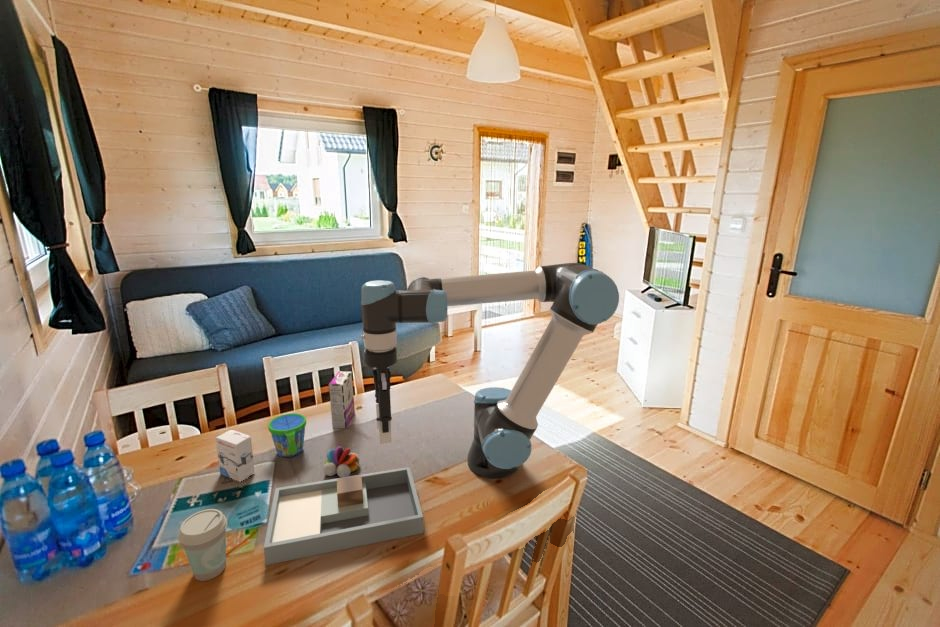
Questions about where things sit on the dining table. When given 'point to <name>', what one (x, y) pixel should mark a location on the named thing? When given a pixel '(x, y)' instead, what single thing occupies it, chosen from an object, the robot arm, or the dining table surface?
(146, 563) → the dining table surface
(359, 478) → the walnut block
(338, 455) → the rainbow wheeled toy
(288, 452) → the snack cup
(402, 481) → the box
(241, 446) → the ink box
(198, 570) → the coffee cup
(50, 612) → the dining table surface
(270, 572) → the dining table surface
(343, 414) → the candy bar box
